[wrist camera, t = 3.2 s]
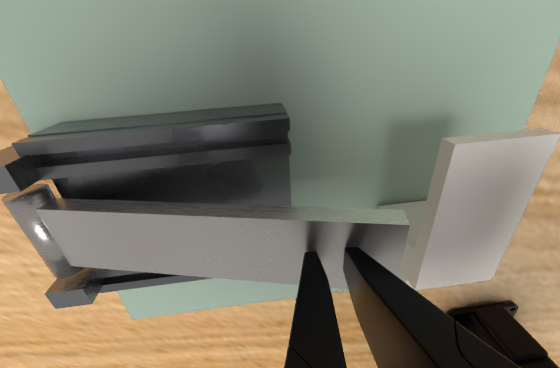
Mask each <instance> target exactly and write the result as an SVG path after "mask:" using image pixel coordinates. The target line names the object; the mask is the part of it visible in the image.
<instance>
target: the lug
mask: <svg viewBox="0 0 560 368" xmlns="http://www.w3.org/2000/svg"><path fill="white" fill-rule="evenodd" d="M559 137H560V133H557V132H554V131H550V130H547V129H543V128H538V129H528V130H518V131H508V132H498V133H488V134H478V135H468V136H458V137H448V138H442V140H441V144H440V148H439V152H438V156H437V160H436V164H435V168H434V172H433V176H432V180H431V184H430V188H429V192H428V196H427V200H426V201H417V202H409V203H400V204H391V205H383V206H379V207H378V209H397V210H403V211H404V213H405V215H406V217H407V219H408V222H409V224H410V228H409V232H408V236H407V241H406V245H405V250H404V254H403V259H402V263H401V268H400V272H399V277H398V278H400V279H401V280H402V281H404V282H405V283H406V284H408V285H409V286H410V287H411V288H413V289H414V290H415V291H417V290H424V289H431V288H438V287H445V286H452V285H460V284H467V283H474V282H479V281H487V280H492V278H493V276H494V274H495V272H496V270H497V268H498V266H499V263H500V261H501V259H502V257H503V255H504V253H505V251H506V249H507V247H508V245H509V242H510V240H511V238H512V236H513V234H514V232H515V230H516V228H517V226H518V224H519V221H520V219H521V217H522V215H523V213H524V211H525V209H526V207H527V205H528V202H529V200H530V198H531V196H532V194H533V192H534V190H535V188H536V186H537V184H538V181H539V179H540V177H541V175H542V173H543V171H544V169H545V167H546V165H547V163H548V160H549V158H550V156H551V154H552V152H553V150H554V148H555V146H556V144H557V141H558V139H559Z"/></svg>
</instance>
